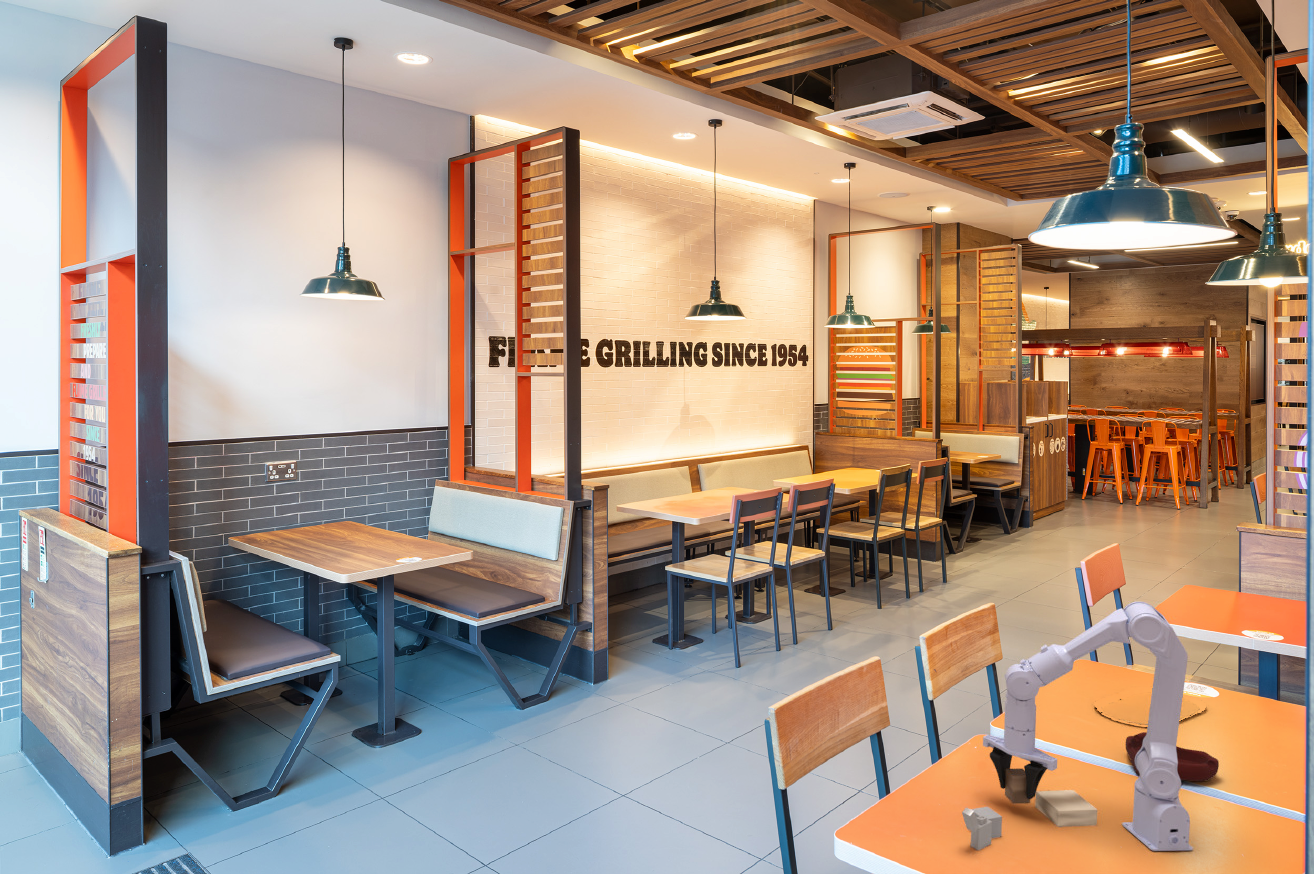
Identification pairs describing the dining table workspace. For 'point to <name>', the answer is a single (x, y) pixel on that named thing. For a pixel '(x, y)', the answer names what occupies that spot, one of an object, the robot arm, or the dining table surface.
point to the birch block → (1066, 808)
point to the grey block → (992, 817)
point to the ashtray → (1180, 760)
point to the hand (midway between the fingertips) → (1017, 792)
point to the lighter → (978, 829)
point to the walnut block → (1016, 786)
